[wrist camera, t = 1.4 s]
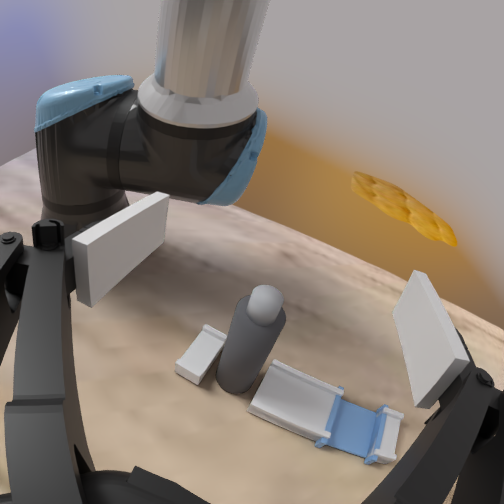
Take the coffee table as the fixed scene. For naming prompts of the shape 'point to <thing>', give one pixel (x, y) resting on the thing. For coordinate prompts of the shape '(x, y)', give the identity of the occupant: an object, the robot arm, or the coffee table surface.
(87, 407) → the coffee table surface
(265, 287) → the cable plug
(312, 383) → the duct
